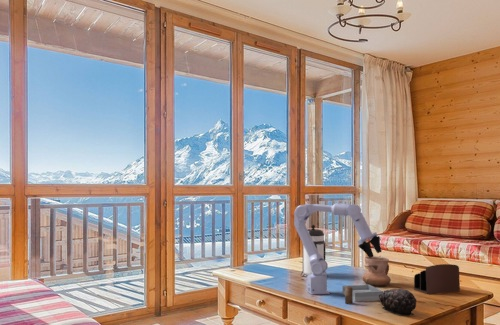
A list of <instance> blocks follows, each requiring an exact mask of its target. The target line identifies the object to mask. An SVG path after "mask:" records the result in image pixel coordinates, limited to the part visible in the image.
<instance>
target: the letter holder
mask: <svg viewBox="0 0 500 325" xmlns="http://www.w3.org/2000/svg"><path fill="white" fill-rule="evenodd" d="M413 281H414V282H413V290H414V291H417V292H420V293H422V294H425V295H436V294H446V293H447V294H448V293H460V291H461V286H460V285H461V283H460V267H459V265H457V264H452V263H451V264H450V263H449V264H448V263H445V264H443V263H442V264H441V263H440V264H435V265H434V264H433V265H429V266H426V267H425V269H424V270H421V271H420V272H419V273H416V274H414V275H413Z"/></svg>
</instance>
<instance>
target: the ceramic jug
mask: <svg viewBox="0 0 500 325" xmlns="http://www.w3.org/2000/svg"><path fill="white" fill-rule="evenodd" d="M364 263H365V264H364V265H363V267H364V268H367V272H366V273H364V274H363V275H362V277H361V278H362V281H363V282H364V283H365V284H366V285H371V286H373V287H383V286H387V285H389V284H390V283H391V281H392V280H391V277H390V276H389V275H388V274H389V270H390V264H389V258H387V257H385V256H384V257H383V256H375V255H373V257H371V258H369V257H368V256H365V257H364Z"/></svg>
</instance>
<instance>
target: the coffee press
mask: <svg viewBox="0 0 500 325" xmlns="http://www.w3.org/2000/svg"><path fill="white" fill-rule="evenodd" d="M310 227H311V228H307V230H308V232H309V234H310V236H311V238H312V240H313V242H314V244H315V246H316V249H317V251H318V253H319V254H320V255H321V256H322V258H323V259H324V260H325V261H326V242H325V239H324V238H325V233H324V231H323V230H322V229H318V228H316V226H315V224H311V225H310ZM302 274H303V275H302ZM311 274H312V271H311V264H310V261H309V256H308V253H307V251H306V249H305V247H304V245H303V244H302V271H301V274H300V276H301V277H304V276H305V275H307V276H308V275H311Z"/></svg>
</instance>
